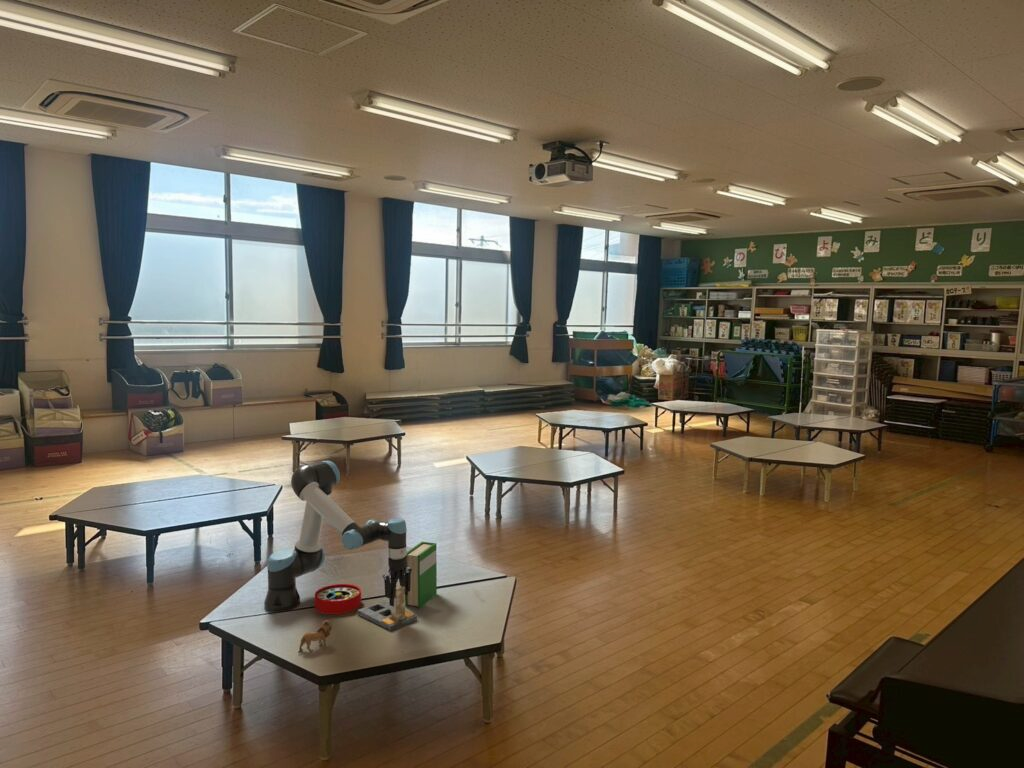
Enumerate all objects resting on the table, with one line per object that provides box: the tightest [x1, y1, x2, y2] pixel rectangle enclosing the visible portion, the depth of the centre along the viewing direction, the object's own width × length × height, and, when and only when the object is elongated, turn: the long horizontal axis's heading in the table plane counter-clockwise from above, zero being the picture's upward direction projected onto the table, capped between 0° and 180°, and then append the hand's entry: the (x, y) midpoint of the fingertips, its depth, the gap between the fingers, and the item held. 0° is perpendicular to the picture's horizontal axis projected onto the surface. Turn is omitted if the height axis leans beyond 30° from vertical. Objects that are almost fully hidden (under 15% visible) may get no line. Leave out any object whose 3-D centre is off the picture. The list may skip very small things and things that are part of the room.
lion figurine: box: [297, 619, 333, 654], centre depth 266 cm, size 15×5×9 cm, turn 140°
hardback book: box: [405, 541, 438, 609], centre depth 311 cm, size 18×7×24 cm, turn 162°
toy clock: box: [314, 583, 362, 615], centre depth 306 cm, size 20×6×20 cm
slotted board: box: [356, 600, 418, 632], centre depth 293 cm, size 14×23×2 cm, turn 47°
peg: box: [391, 583, 406, 622], centre depth 288 cm, size 4×4×14 cm
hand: (398, 610), depth 288 cm, fingers closed on peg, 4 cm apart
